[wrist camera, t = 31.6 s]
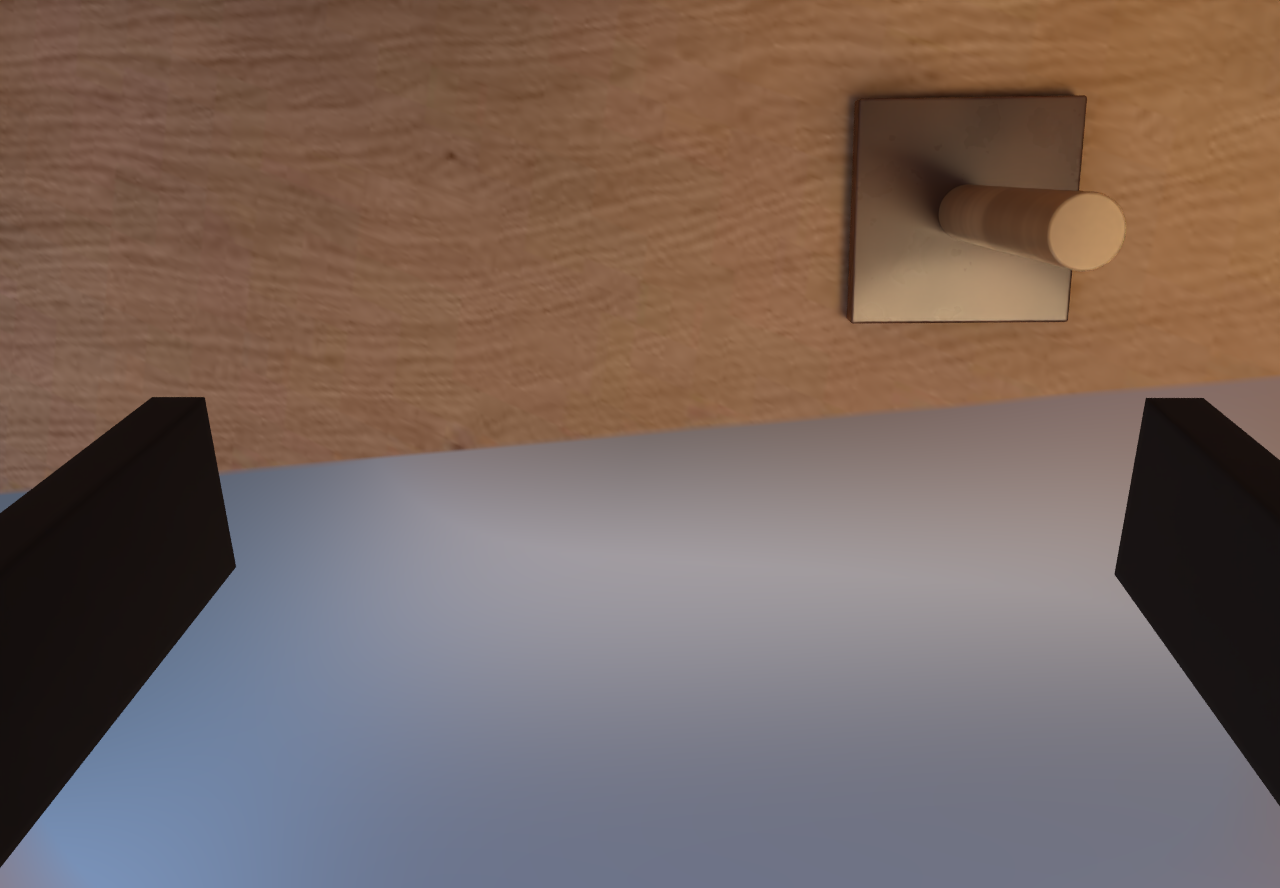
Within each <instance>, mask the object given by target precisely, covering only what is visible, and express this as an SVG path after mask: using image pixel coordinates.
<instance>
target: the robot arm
mask: <svg viewBox="0 0 1280 888" xmlns="http://www.w3.org/2000/svg"><path fill="white" fill-rule="evenodd" d="M235 567H236V564H235V559H234V553H233V548H232V543H231V538H230V532H229V527H228V521H227V516H226V511H225V505H224V499H223V494H222V489H221V483H220V478H219V472H218V467H217V462H216V456H215V451H214V445H213V440H212V435H211V429H210V424H209V418H208V413H207V408H206V402H205V397H152V398H150V399H149V400H148V401H146V402H145V403H144V404H143V405H141V406H140V407H139V408H137V409H136V410H135V411H133V412H132V413H131V414H129V415H128V416H127V417H126V418H124V419H123V420H122V421H120V422H119V423H118V424H116V425H115V426H114V427H112V428H111V429H110V430H109V431H107V432H106V433H105V434H103V435H102V436H101V437H99V438H98V439H97V440H95V441H94V442H93V443H92V444H90V445H89V446H88V447H86V448H85V449H84V450H82V451H81V452H80V453H78V454H77V455H76V456H75V457H73V458H72V459H71V460H69V461H68V462H67V463H65V464H64V465H63V466H61V467H60V468H59V469H58V470H56V471H55V472H54V473H52V474H51V475H50V476H48V477H47V478H46V479H44V480H43V481H42V482H41V483H39V484H38V485H37V486H35V487H34V488H33V489H31V490H30V491H29V492H27V493H26V494H25V495H24V496H22V497H21V498H20V499H18V500H17V501H16V502H15V503H13V504H12V505H11V506H9V507H8V508H7V509H5V510H4V511H3V512H1V513H0V867H1V866H2V865H3V864H4V862H5V861H6V860H7V859H8V857H9V856H10V855H11V853H12V852H13V851H14V850H15V848H16V847H17V846H18V844H19V843H20V842H21V841H22V839H23V838H24V837H25V835H26V834H27V833H28V832H29V830H30V829H31V828H32V827H33V825H34V824H35V822H36V821H37V820H38V819H39V818H40V816H41V815H42V814H43V813H44V811H45V810H46V809H47V807H48V806H49V805H50V804H51V802H52V801H53V800H54V799H55V797H56V796H57V795H58V793H59V792H60V791H61V790H62V788H63V787H64V786H65V784H66V783H67V782H68V781H69V779H70V778H71V777H72V776H73V774H74V773H75V772H76V770H77V769H78V768H79V767H80V765H81V764H82V763H83V761H84V760H85V759H86V758H87V756H88V755H89V754H90V752H91V751H92V750H93V749H94V747H95V746H96V745H97V744H98V742H99V741H100V740H101V738H102V737H103V736H104V735H105V733H106V732H107V731H108V729H109V728H110V727H111V725H112V724H113V723H114V722H115V721H116V719H117V718H118V717H119V716H120V714H121V713H122V712H123V710H124V709H125V708H126V707H127V705H128V704H129V703H130V702H131V700H132V699H133V698H134V696H135V695H136V694H137V692H138V691H139V690H140V689H141V687H142V686H143V685H144V683H145V682H146V681H147V680H148V679H149V677H150V676H151V675H152V673H153V672H154V671H155V670H156V668H157V667H158V666H159V664H160V663H161V662H162V661H163V659H164V658H165V657H166V655H167V654H168V653H169V652H170V650H171V649H172V648H173V646H174V645H175V644H176V643H177V642H178V640H179V639H180V638H181V636H182V635H183V634H184V633H185V631H186V630H187V629H188V627H189V626H190V625H191V623H192V622H193V621H194V620H195V618H196V617H197V616H198V615H199V613H200V612H201V611H202V610H203V608H204V607H205V606H206V605H207V603H208V602H209V600H210V599H211V598H212V596H214V594H215V593H216V592H217V590H218V589H219V588H220V587H221V585H222V584H223V583H224V582H225V580H226V579H227V578H228V576H229V575H230V574H231V573H232V571H233V570H234V569H235ZM1115 576H1116V577H1117V579H1118V580H1119V581H1120V583H1121V584H1122V585H1123V587H1124V588H1125V590H1126V591H1127V592H1128V594H1129V595H1130V597H1131V598H1132V600H1133V601H1134V602H1135V604H1136V605H1137V607H1138V608H1139V609H1140V611H1141V612H1142V613H1143V615H1144V616H1145V618H1146V619H1147V620H1148V622H1149V623H1150V625H1151V626H1152V627H1153V629H1154V630H1155V632H1156V633H1157V635H1158V636H1159V637H1160V639H1161V640H1162V641H1163V643H1164V644H1165V646H1166V647H1167V648H1168V650H1169V651H1170V653H1171V654H1172V655H1173V657H1174V658H1175V660H1176V661H1177V663H1178V664H1179V665H1180V667H1181V668H1182V670H1183V671H1184V672H1185V674H1186V675H1187V677H1188V678H1189V679H1190V681H1191V682H1192V684H1193V685H1194V686H1195V688H1196V689H1197V691H1198V692H1199V693H1200V695H1201V696H1202V698H1203V699H1204V700H1205V702H1206V703H1207V705H1208V706H1209V707H1210V709H1211V710H1212V712H1213V713H1214V714H1215V716H1216V717H1217V719H1218V720H1219V721H1220V723H1221V724H1222V725H1223V727H1224V728H1225V730H1226V731H1227V733H1228V734H1229V735H1230V737H1231V738H1232V740H1233V741H1234V743H1235V744H1236V745H1237V747H1238V748H1239V749H1240V751H1241V752H1242V754H1243V755H1244V757H1245V758H1246V759H1247V761H1248V762H1249V763H1250V765H1251V766H1252V768H1253V769H1254V770H1255V772H1256V773H1257V775H1258V776H1259V778H1260V779H1261V780H1262V782H1263V783H1264V785H1265V786H1266V787H1267V789H1268V790H1269V791H1270V793H1271V794H1272V796H1273V797H1274V799H1275V800H1276V801H1277V803H1278V804H1279V806H1280V460H1279V459H1278V458H1276V457H1275V456H1274V455H1273V454H1271V453H1270V452H1269V451H1268V450H1267V449H1265V448H1264V447H1263V446H1262V445H1260V444H1259V443H1258V442H1257V441H1255V440H1254V439H1253V438H1252V437H1251V436H1249V435H1248V434H1247V433H1246V432H1244V431H1243V430H1242V429H1241V428H1239V427H1238V426H1237V425H1236V424H1235V423H1233V422H1232V421H1231V420H1230V419H1228V418H1227V417H1226V416H1224V415H1223V414H1222V413H1221V412H1220V411H1218V410H1217V409H1216V408H1215V407H1213V406H1212V405H1211V404H1210V403H1209V402H1207V401H1206V400H1205V399H1204V398H1146V401H1145V406H1144V412H1143V417H1142V423H1141V429H1140V434H1139V440H1138V445H1137V451H1136V457H1135V462H1134V468H1133V473H1132V479H1131V485H1130V490H1129V496H1128V502H1127V507H1126V513H1125V519H1124V524H1123V529H1122V535H1121V541H1120V546H1119V552H1118V557H1117V563H1116V569H1115Z"/></svg>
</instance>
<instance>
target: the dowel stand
mask: <svg viewBox="0 0 1280 888" xmlns="http://www.w3.org/2000/svg"><path fill="white" fill-rule="evenodd" d="M1086 103H1087V97H1086V96H1084V95H1081V96H1012V97H944V98H875V99H859V100H857V101H855V109H854V137H853V166H852V194H851V222H850V250H849V278H848V306H847V319H848V320H849V321H850V322H851V323H978V322H1066V321H1067V320H1068V312H1069V300H1070V288H1071V277H1072V270H1074V271H1091V270H1095V269H1098V268H1100V267H1102V266H1104V265H1105V264H1107V263H1108V262H1109V261H1111V260H1112V259H1113V258H1114V257H1115V256H1116V254H1117V253H1118V252H1119V250H1120V248H1121V247H1122V244H1123V242H1124V239H1125V235H1126V221H1125V216H1124V214H1123V211H1122V210H1121V208H1120V206H1119V205H1118V204H1117V203H1116V202H1115V201H1114V200H1113V199H1112V198H1110V197H1109V196H1107V195H1105V194H1102V193H1098V192H1087V191H1079V184H1080V172H1081V161H1082V149H1083V138H1084V126H1085V114H1086Z"/></svg>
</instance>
